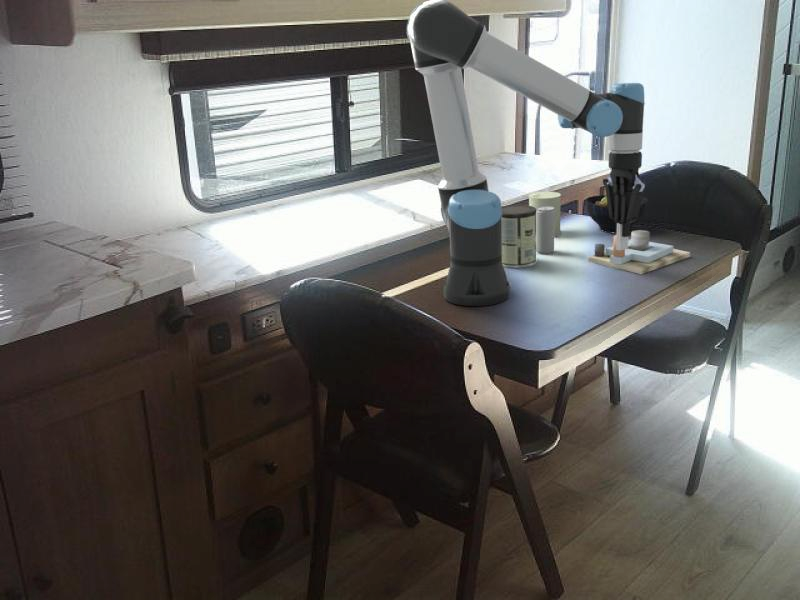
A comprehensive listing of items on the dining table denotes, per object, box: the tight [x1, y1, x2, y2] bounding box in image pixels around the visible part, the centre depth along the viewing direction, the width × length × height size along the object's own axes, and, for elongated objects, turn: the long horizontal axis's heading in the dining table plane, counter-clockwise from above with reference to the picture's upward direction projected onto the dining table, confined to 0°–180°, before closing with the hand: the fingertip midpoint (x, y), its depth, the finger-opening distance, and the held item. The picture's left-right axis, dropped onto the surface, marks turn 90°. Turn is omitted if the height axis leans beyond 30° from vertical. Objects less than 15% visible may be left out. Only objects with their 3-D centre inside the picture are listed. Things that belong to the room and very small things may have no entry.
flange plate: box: [605, 234, 674, 265], centre depth 200 cm, size 17×12×7 cm
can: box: [528, 191, 562, 238], centre depth 229 cm, size 9×9×12 cm
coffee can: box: [501, 204, 537, 269], centre depth 204 cm, size 10×10×14 cm
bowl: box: [585, 194, 648, 234], centre depth 230 cm, size 17×17×10 cm
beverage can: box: [536, 206, 555, 255], centre depth 211 cm, size 5×5×12 cm
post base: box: [588, 229, 691, 275], centre depth 202 cm, size 20×16×7 cm
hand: (622, 249), depth 193 cm, fingers closed
